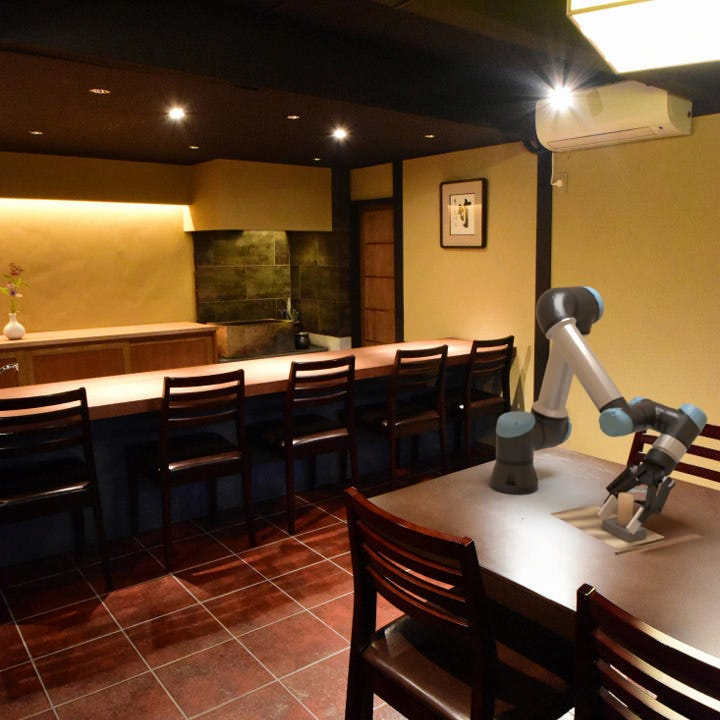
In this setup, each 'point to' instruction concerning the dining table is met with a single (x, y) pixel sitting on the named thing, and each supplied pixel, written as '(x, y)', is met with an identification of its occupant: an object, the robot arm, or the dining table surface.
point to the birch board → (592, 524)
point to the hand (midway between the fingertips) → (615, 523)
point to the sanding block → (623, 520)
